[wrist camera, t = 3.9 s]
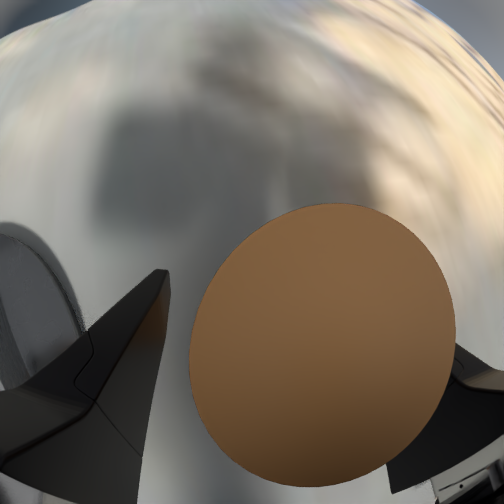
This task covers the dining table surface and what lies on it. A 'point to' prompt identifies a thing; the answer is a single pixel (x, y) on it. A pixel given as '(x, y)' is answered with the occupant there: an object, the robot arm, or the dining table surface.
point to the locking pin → (322, 345)
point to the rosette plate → (30, 314)
